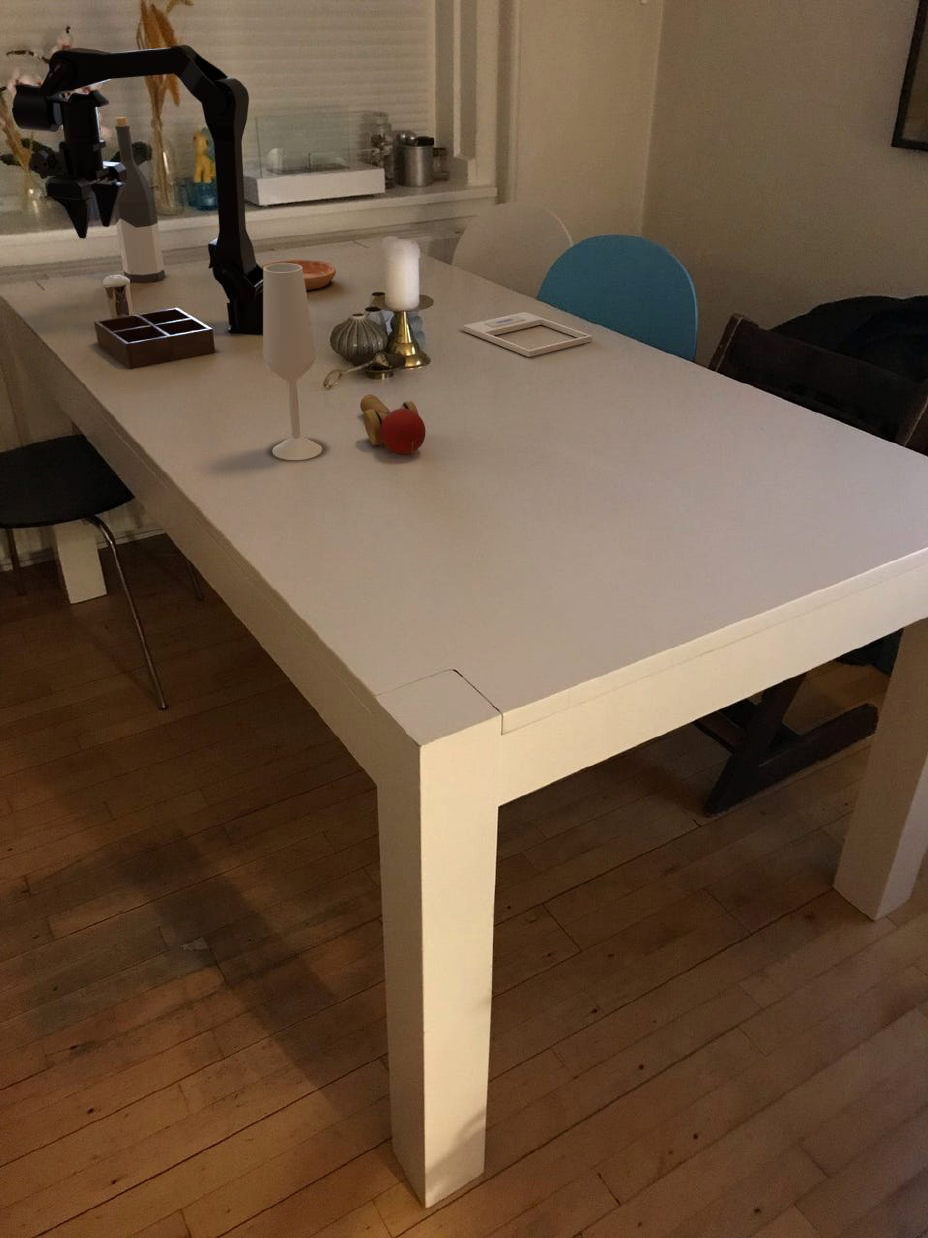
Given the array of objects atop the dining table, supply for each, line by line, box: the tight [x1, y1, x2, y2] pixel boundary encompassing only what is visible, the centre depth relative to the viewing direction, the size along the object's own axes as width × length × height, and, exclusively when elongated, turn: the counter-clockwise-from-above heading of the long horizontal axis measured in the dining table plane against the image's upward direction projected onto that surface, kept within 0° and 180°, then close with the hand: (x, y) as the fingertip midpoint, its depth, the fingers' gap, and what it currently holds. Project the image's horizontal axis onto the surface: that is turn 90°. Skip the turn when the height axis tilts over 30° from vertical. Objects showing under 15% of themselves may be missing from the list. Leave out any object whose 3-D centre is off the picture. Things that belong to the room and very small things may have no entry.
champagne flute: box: [262, 263, 323, 461], centre depth 133 cm, size 7×7×24 cm
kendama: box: [359, 393, 427, 455], centre depth 143 cm, size 8×6×18 cm
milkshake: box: [102, 270, 133, 319], centre depth 182 cm, size 4×5×10 cm
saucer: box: [260, 259, 337, 291], centre depth 210 cm, size 16×16×3 cm
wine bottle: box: [113, 116, 166, 284], centre depth 206 cm, size 8×8×30 cm
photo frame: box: [462, 311, 593, 358], centre depth 183 cm, size 15×1×18 cm
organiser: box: [94, 307, 216, 369], centre depth 174 cm, size 15×15×4 cm
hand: (94, 232), depth 180 cm, fingers open, 9 cm apart
